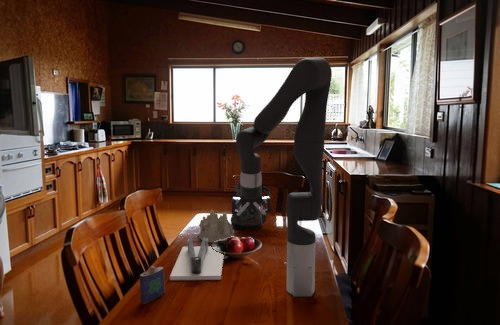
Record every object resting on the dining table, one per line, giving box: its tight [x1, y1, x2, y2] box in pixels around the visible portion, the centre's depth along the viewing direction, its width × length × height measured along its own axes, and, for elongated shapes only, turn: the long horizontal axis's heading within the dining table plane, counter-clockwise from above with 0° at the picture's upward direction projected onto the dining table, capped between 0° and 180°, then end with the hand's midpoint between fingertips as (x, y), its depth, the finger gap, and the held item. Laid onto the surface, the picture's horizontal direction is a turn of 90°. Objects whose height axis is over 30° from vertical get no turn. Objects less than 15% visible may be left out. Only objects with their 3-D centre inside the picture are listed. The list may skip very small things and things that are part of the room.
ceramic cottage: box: [198, 209, 235, 243], centre depth 185 cm, size 16×16×15 cm
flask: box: [139, 265, 166, 305], centre depth 125 cm, size 9×3×11 cm, turn 144°
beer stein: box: [230, 182, 271, 231], centre depth 202 cm, size 16×19×25 cm
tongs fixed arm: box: [191, 237, 209, 274], centre depth 153 cm, size 26×4×5 cm, turn 1°
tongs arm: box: [187, 237, 195, 262], centre depth 154 cm, size 22×2×5 cm, turn 11°
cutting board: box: [169, 245, 225, 281], centre depth 154 cm, size 30×18×2 cm, turn 1°
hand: (251, 223), depth 144 cm, fingers open, 8 cm apart
